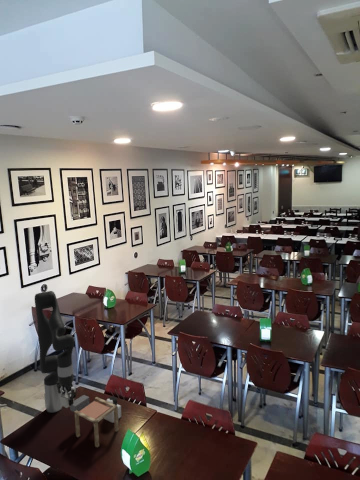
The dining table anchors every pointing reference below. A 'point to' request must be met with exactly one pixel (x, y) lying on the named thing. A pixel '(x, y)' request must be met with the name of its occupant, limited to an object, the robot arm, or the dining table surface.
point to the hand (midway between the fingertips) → (67, 403)
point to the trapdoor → (89, 407)
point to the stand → (95, 421)
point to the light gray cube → (65, 400)
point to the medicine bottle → (111, 416)
